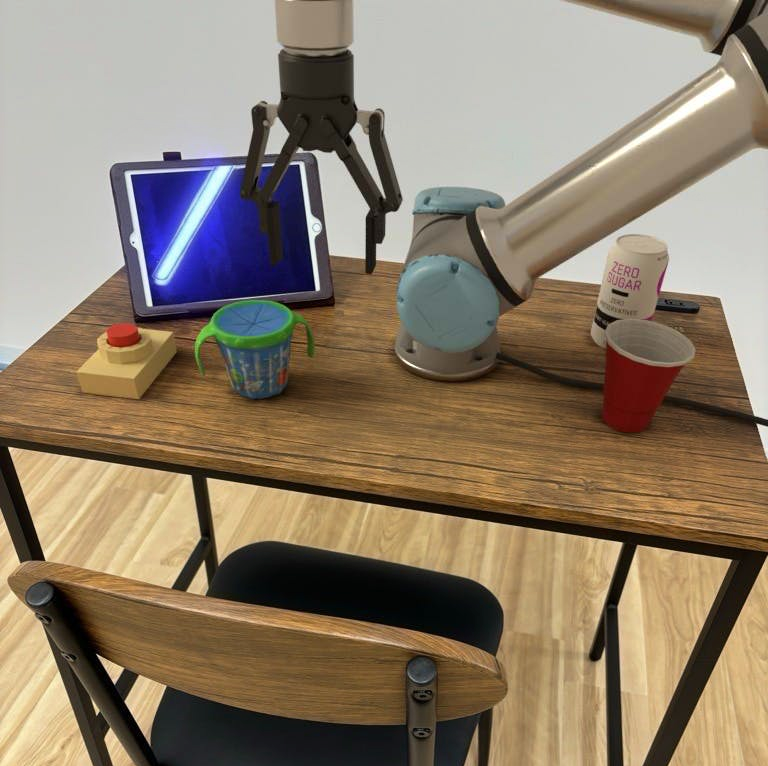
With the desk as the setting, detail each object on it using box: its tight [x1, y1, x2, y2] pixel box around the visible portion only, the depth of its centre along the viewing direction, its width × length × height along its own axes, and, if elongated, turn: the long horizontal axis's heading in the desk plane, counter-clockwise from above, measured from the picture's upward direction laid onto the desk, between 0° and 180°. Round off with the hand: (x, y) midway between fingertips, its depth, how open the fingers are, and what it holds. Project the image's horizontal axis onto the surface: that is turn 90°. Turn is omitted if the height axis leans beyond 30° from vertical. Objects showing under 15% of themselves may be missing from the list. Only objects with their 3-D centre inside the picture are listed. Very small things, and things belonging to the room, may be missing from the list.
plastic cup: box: [602, 319, 697, 434], centre depth 92 cm, size 11×11×12 cm
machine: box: [76, 327, 178, 400], centre depth 101 cm, size 13×8×5 cm, turn 170°
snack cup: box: [194, 299, 316, 400], centre depth 97 cm, size 16×10×10 cm
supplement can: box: [590, 233, 670, 350], centre depth 107 cm, size 8×8×15 cm
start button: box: [106, 322, 140, 348], centre depth 99 cm, size 4×4×2 cm
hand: (323, 265), depth 87 cm, fingers open, 11 cm apart
